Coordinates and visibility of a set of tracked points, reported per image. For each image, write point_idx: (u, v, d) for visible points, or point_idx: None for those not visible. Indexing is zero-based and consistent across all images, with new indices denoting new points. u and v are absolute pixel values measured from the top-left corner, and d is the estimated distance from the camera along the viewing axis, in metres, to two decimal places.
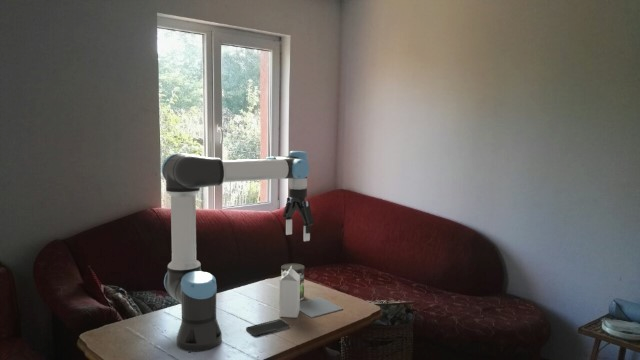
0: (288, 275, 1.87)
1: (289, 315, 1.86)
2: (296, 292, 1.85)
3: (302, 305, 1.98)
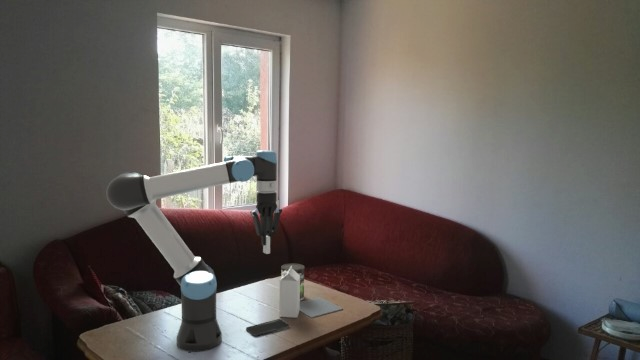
0: (288, 275, 1.87)
1: (289, 315, 1.86)
2: (296, 292, 1.85)
3: (302, 305, 1.98)
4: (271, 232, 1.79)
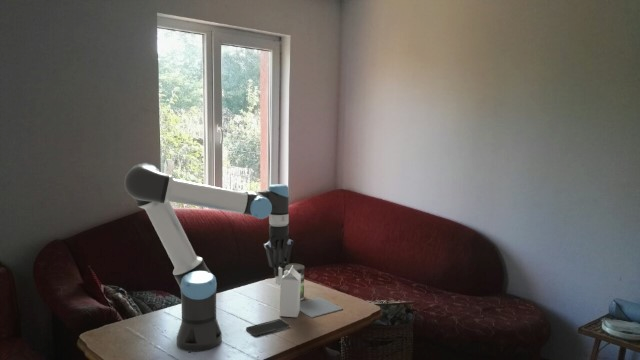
0: (289, 274, 1.87)
1: (289, 315, 1.86)
2: (297, 291, 1.85)
3: (302, 305, 1.98)
4: (283, 263, 1.84)
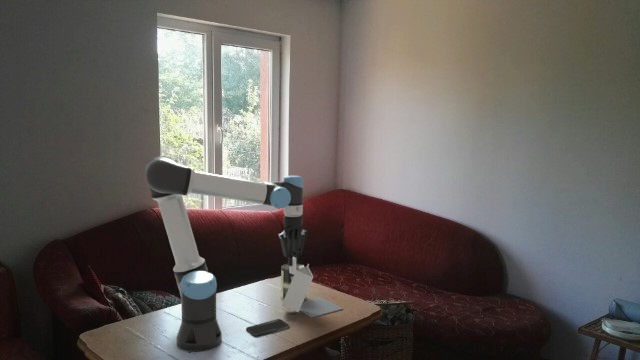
0: (304, 269, 1.91)
1: (292, 307, 1.86)
2: (307, 287, 1.87)
3: (302, 305, 1.98)
4: (297, 253, 1.87)
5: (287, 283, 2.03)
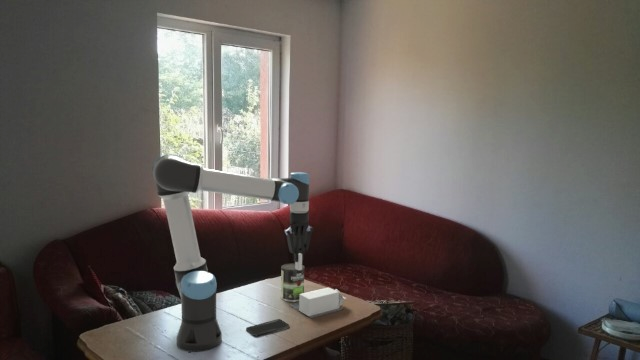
0: None
1: (310, 309, 1.87)
2: (329, 309, 1.92)
3: None
4: (303, 249, 1.89)
5: (287, 283, 2.03)
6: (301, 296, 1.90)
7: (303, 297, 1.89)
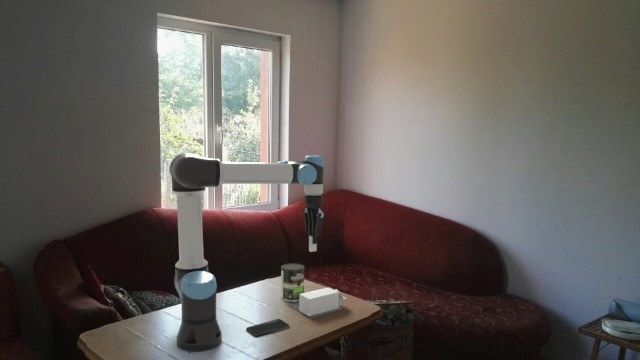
0: None
1: (310, 309, 1.87)
2: (329, 309, 1.92)
3: None
4: None
5: (287, 283, 2.03)
6: (301, 296, 1.90)
7: (303, 297, 1.89)
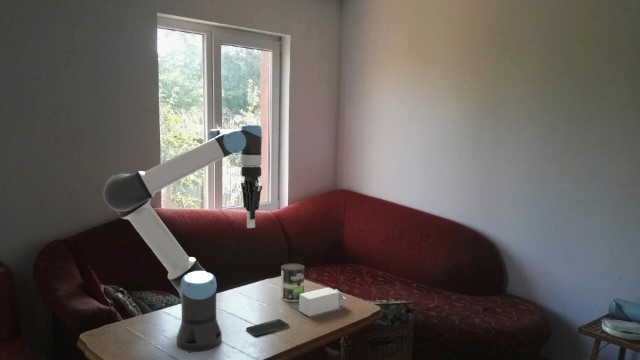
0: None
1: (310, 309, 1.87)
2: (329, 309, 1.92)
3: None
4: None
5: (287, 283, 2.03)
6: (301, 296, 1.90)
7: (303, 297, 1.89)
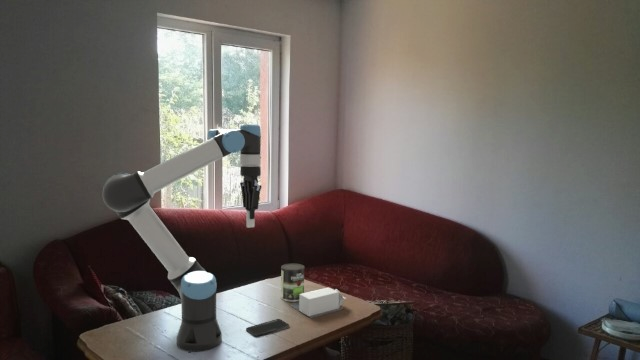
0: None
1: (310, 309, 1.87)
2: (329, 309, 1.92)
3: None
4: None
5: (287, 283, 2.03)
6: (301, 296, 1.90)
7: (303, 297, 1.89)
